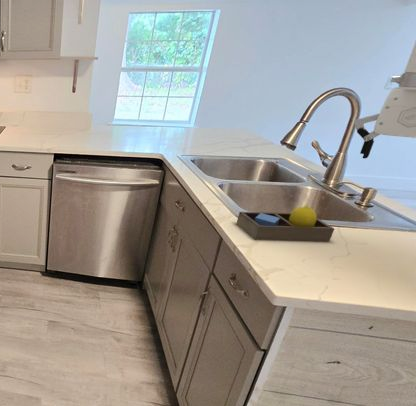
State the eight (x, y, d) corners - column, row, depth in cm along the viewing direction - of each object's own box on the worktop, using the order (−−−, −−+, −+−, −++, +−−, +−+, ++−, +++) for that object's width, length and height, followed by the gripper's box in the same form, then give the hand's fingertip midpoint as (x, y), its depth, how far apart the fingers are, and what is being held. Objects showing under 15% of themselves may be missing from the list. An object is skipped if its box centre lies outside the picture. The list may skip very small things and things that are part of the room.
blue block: (275, 232, 103) (280, 218, 101) (270, 237, 100) (274, 222, 98) (256, 226, 106) (260, 212, 104) (250, 231, 104) (255, 217, 102)
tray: (328, 243, 97) (334, 228, 96) (254, 241, 100) (258, 226, 98) (303, 227, 106) (308, 213, 104) (235, 225, 108) (239, 211, 106)
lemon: (298, 238, 99) (308, 211, 96) (280, 228, 104) (288, 203, 101) (316, 236, 100) (326, 209, 97) (296, 227, 105) (306, 201, 102)
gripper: (365, 82, 80) (340, 157, 86) (497, 84, 67) (455, 172, 74) (370, 79, 84) (346, 151, 91) (495, 81, 72) (456, 164, 78)
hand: (395, 161), depth 82 cm, fingers open, 9 cm apart
